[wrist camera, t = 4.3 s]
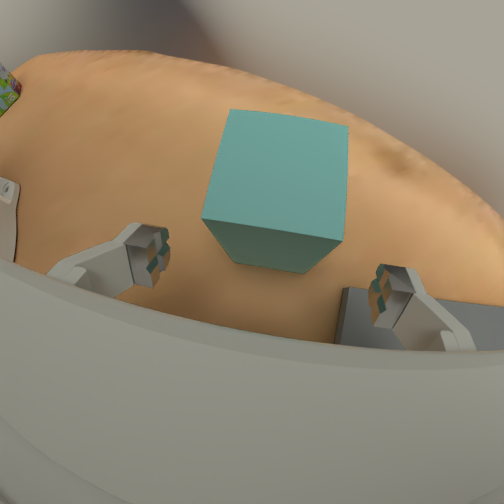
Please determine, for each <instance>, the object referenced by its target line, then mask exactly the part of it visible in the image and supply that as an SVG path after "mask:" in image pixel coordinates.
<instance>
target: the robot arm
mask: <svg viewBox="0 0 504 504" xmlns="http://www.w3.org/2000/svg"><path fill="white" fill-rule="evenodd" d="M19 191H20V186H19V184H18V183H15V182H13V181H10V180H8V179H5V178H2V177H0V504H504V350H493V351H477V350H476V347H475V344H474V342H473V339H472V337H471V334H470V332H469V331H468V330H467V329H466V328H465V327H464V326H463V325H462V324H461V323H460V322H459V321H458V320H457V319H456V318H455V317H454V316H453V315H452V314H450V313H449V312H448V311H447V310H446V309H445V308H444V307H443V306H442V305H441V304H439V303H438V302H437V301H436V300H435V299H434V298H433V297H432V296H429V295H427V292H426V290H425V288H424V286H423V284H422V281H421V279H420V277H419V275H418V273H417V271H416V270H415V269H414V268H407V267H399V266H393V265H386V264H380V265H379V266H378V268H377V271H376V275H377V278H376V279H375V280H373V281H372V282H371V285H370V287H369V291H368V304H369V306H370V307H371V308H372V309H373V310H372V311H371V313H370V314H371V319H372V324H373V327H380V328H388V329H392V331H393V332H394V333H395V335H396V336H397V337H398V339H399V340H400V342H401V343H402V344H403V346H404V347H405V349H406V350H394V349H380V348H367V347H356V346H347V345H337V344H329V343H321V342H313V341H306V340H299V339H292V338H285V337H279V336H273V335H267V334H261V333H255V332H250V331H244V330H239V329H234V328H229V327H224V326H219V325H215V324H210V323H205V322H201V321H197V320H192V319H188V318H184V317H180V316H176V315H172V314H168V313H164V312H160V311H156V310H152V309H149V308H145V307H141V306H138V305H134V304H131V303H127V302H124V301H120V300H117V299H114V297H116V296H117V295H119V294H121V293H122V292H124V291H125V290H127V289H128V288H130V287H132V286H133V285H134V284H136V285H141V286H145V287H150V288H153V287H154V286H155V284H156V283H157V281H158V280H159V278H160V272H162V271H164V270H165V269H166V268H167V266H168V263H169V260H170V247H169V246H168V244H167V243H166V241H167V240H168V238H169V234H168V229H167V228H166V227H160V226H155V225H149V224H143V223H137V222H132V223H130V224H129V225H128V226H127V227H126V228H125V229H124V230H123V231H122V232H121V233H120V234H119V235H118V236H117V237H116V238H115V239H114V240H113V241H112V242H110V241H107V242H105V243H102V244H99V245H97V246H94V247H92V248H89V249H86V250H84V251H81V252H79V253H76V254H74V255H71V256H69V257H66V258H64V259H61V260H60V261H59V262H58V263H57V264H56V265H55V266H54V267H53V268H52V269H51V270H50V271H49V272H48V273H47V274H46V275H44V274H41V273H39V272H36V271H34V270H31V269H29V268H26V267H24V266H21V265H19V264H16V263H14V262H13V259H14V253H15V244H16V206H17V201H18V196H19Z"/></svg>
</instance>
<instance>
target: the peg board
mask: <svg viewBox="0 0 504 504" xmlns="http://www.w3.org/2000/svg"><path fill="white" fill-rule="evenodd" d="M368 291H369V290H367V289H360V288H354V287H347V288H343V293H342V300H341V307H340V313H339V319H338V325H337V331H336V336H335V341H334V344H337V345H347V346H356V347H367V348H380V349H394V350H406V349H405V347H404V346H403V344H402V343H401V342H400V340H399V339H398V337H397V336H396V335H395V333H394V332H393V331H392V329H388V328H380V327H373V324H372V319H371V314H370V313H371V311H372V310H373V309H372V308H371V307H370V306H369V304H368ZM435 300H436V301H437V302H438V303H439V304H441V305H442V306H443V307H444V308H445V309H446V310H447V311H448V312H449V313H450V314H452V315H453V316H454V317H455V318H456V319H457V320H458V321H459V322H460V323H461V324H462V325H463V326H464V327H465V328H466V329H467V330H468V331H469V332H470V334H471V337H472V339H473V342H474V344H475V347H476V350H477V351H493V350H504V307H497V306H488V305H480V304H471V303H463V302H455V301H447V300H439V299H435Z"/></svg>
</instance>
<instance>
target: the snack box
mask: <svg viewBox="0 0 504 504" xmlns="http://www.w3.org/2000/svg"><path fill="white" fill-rule="evenodd" d="M20 89H21V84H20V83H19V82H18V81H17V80H16V79H15V78H14V77H13V75H12V74H11V73H10V72H9V71H8V70H7V69H6V68H5V67H4V66H3V65H2V64H1V63H0V116H1V115H2V114H3V113H4V112H5V111H6V110H7V109H8V108H9V107H10V106H11V104H12V103H13V102H14V101H15V100H16V99H17V98H18V97H19V94H20Z"/></svg>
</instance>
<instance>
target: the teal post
mask: <svg viewBox="0 0 504 504" xmlns="http://www.w3.org/2000/svg"><path fill="white" fill-rule="evenodd" d="M347 176H348V126H344V125H340V124H335V123H330V122H325V121H320V120H314V119H309V118H303V117H297V116H290V115H283V114H275V113H267V112H258V111H247V110H235V109H230V112H229V115H228V118H227V122H226V125H225V128H224V132H223V135H222V139H221V142H220V146H219V150H218V153H217V157H216V160H215V164H214V168H213V172H212V175H211V179H210V183H209V187H208V191H207V195H206V199H205V203H204V207H203V212H202V216H201V219H202V220H203V222H204V223H205V224H206V226H207V227H208V228H209V230H210V231H211V232H212V234H213V235H214V237H215V238H216V239H217V241H218V242H219V243H220V245H221V246H222V247H223V249H224V250H225V251H226V253H227V254H228V255H229V257H230V258H231V259H232V261H233V262H235V263H241V264H247V265H253V266H259V267H265V268H271V269H277V270H283V271H289V272H295V273H301V274H305V273H306V272H307V271H308V270H310V269H311V268H312V267H313V266H314V265H316V264H317V263H318V262H319V261H320V260H322V259H323V258H324V257H325V256H326V255H327V254H329V253H330V252H331V251H332V250H333V249H334V248H336V247H337V246H338V245H339V244H340V243H341V242H343V236H344V225H345V212H346V197H347Z"/></svg>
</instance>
